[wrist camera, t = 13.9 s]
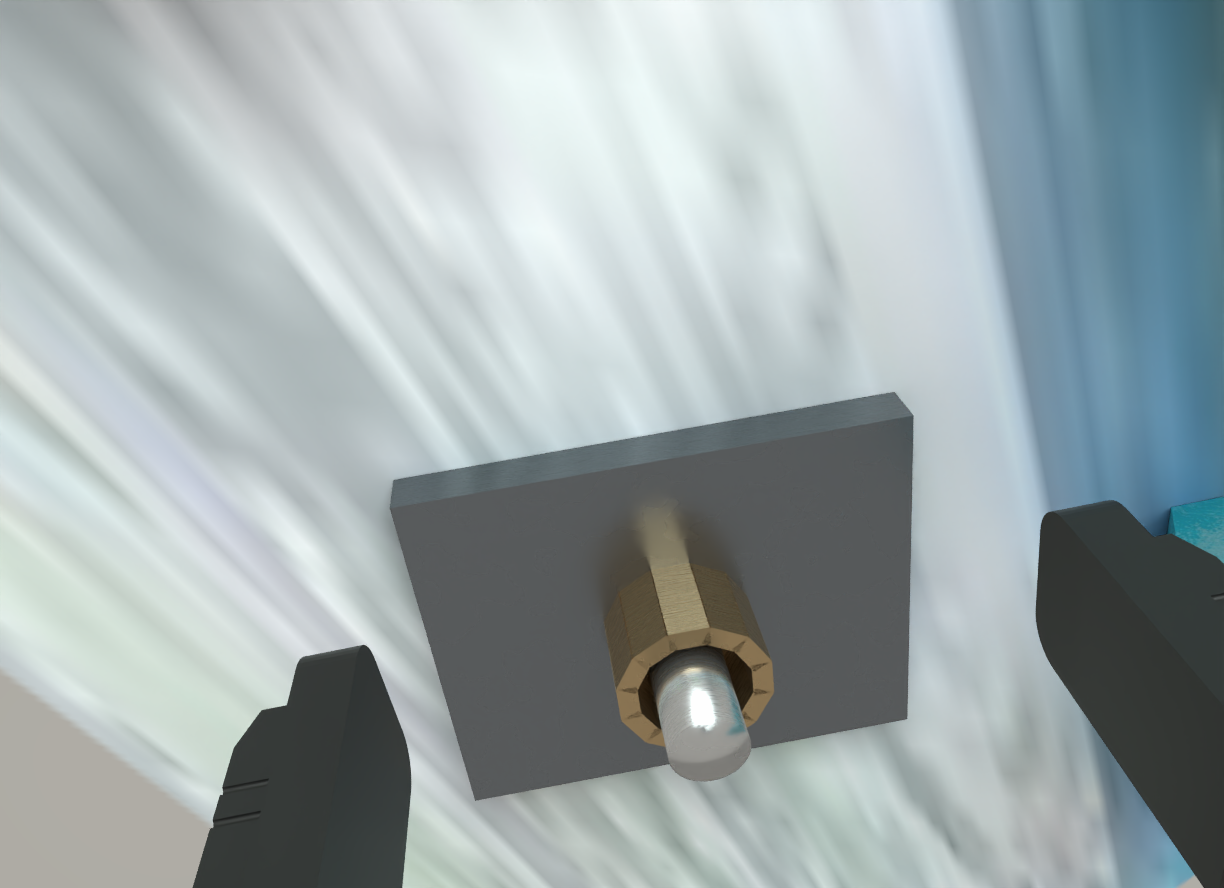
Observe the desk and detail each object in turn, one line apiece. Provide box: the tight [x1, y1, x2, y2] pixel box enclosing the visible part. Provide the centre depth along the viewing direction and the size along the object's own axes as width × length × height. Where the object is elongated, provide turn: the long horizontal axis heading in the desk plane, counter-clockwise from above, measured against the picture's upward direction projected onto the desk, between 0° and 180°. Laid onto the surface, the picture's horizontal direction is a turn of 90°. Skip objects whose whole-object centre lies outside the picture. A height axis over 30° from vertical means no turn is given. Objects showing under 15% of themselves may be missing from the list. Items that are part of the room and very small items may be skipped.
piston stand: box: [390, 392, 913, 801], centre depth 40 cm, size 20×16×9 cm
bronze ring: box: [604, 563, 774, 747], centre depth 40 cm, size 6×6×4 cm
